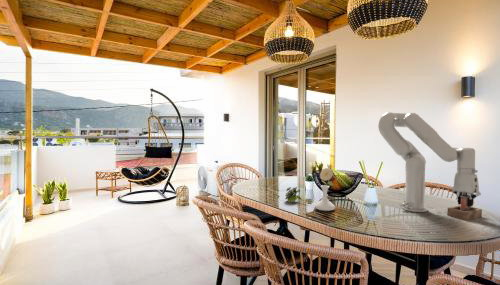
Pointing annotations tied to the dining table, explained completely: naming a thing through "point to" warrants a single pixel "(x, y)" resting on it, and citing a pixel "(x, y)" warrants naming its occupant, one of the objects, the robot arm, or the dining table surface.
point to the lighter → (464, 202)
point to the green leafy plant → (292, 194)
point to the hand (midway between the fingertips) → (465, 204)
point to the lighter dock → (464, 213)
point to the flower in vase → (325, 191)
